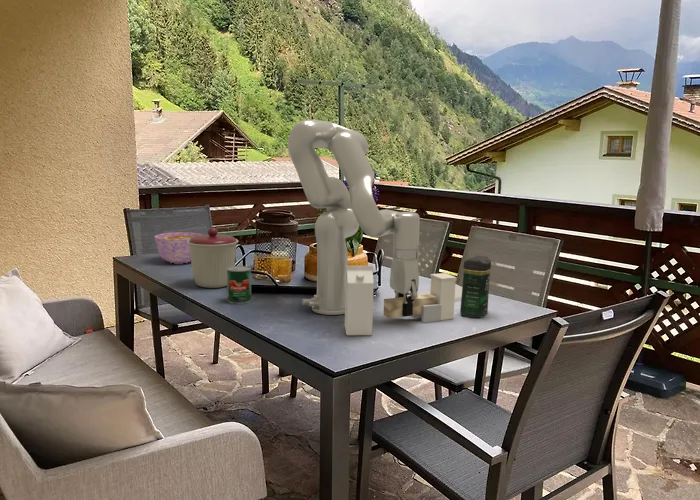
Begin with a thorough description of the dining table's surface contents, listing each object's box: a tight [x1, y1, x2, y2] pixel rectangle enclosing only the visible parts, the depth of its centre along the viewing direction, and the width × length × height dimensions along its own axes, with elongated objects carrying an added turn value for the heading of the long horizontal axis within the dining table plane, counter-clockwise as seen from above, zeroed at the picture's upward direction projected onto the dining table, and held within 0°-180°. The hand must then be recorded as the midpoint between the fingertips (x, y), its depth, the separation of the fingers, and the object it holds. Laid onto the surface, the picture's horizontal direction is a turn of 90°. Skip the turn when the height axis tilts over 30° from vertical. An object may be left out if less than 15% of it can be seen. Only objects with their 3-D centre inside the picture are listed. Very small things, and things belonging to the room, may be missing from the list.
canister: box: [187, 227, 239, 289], centre depth 215 cm, size 18×18×21 cm
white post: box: [411, 272, 458, 324], centre depth 182 cm, size 11×7×13 cm, turn 113°
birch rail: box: [383, 294, 437, 319], centre depth 179 cm, size 16×4×5 cm, turn 113°
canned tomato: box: [226, 265, 252, 304], centre depth 196 cm, size 8×8×11 cm
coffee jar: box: [459, 255, 492, 318], centre depth 186 cm, size 10×8×19 cm
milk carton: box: [344, 265, 375, 336], centre depth 166 cm, size 7×7×19 cm
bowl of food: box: [154, 231, 203, 265], centre depth 254 cm, size 20×20×12 cm
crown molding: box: [407, 283, 462, 303], centre depth 204 cm, size 29×12×4 cm, turn 134°
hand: (404, 313), depth 178 cm, fingers closed on birch rail, 3 cm apart
